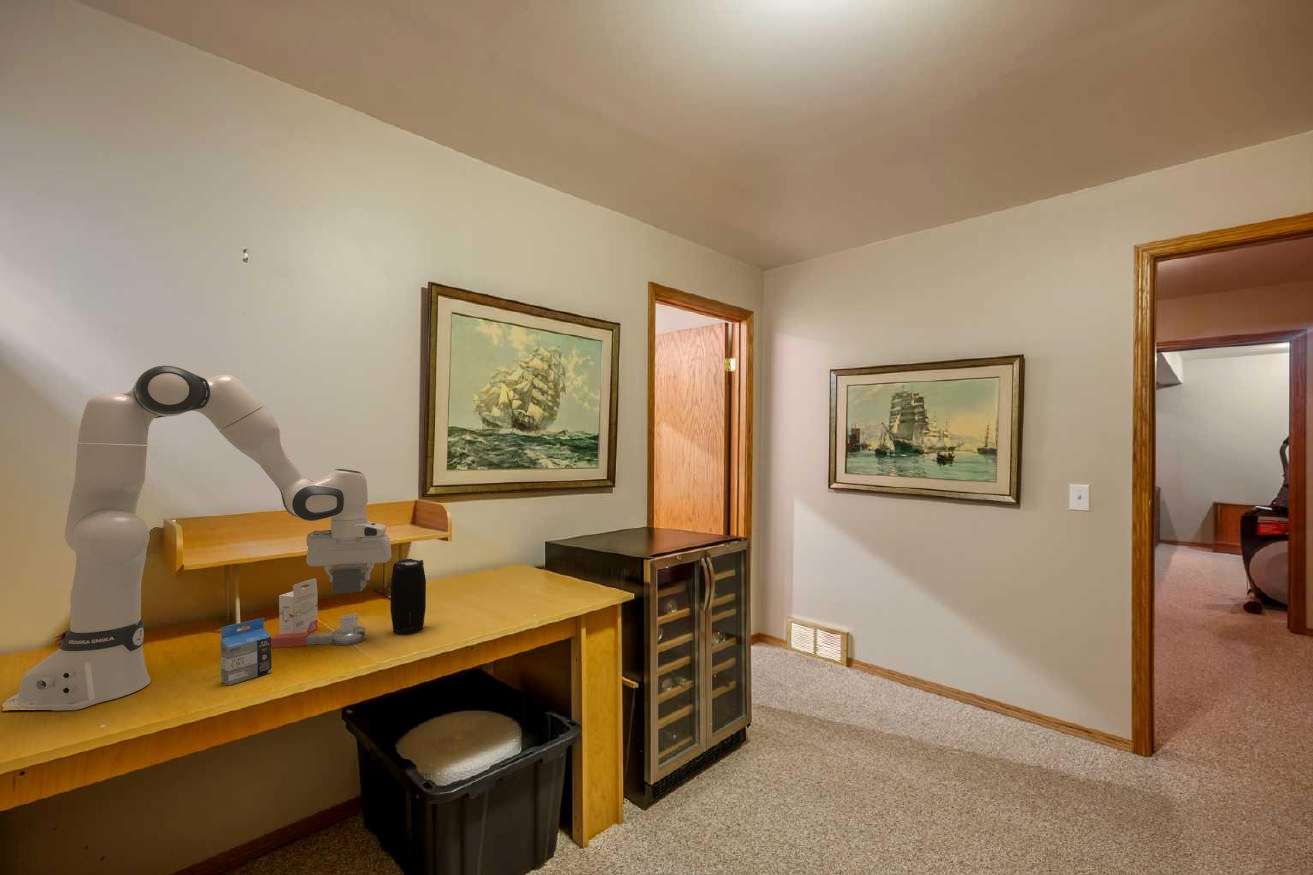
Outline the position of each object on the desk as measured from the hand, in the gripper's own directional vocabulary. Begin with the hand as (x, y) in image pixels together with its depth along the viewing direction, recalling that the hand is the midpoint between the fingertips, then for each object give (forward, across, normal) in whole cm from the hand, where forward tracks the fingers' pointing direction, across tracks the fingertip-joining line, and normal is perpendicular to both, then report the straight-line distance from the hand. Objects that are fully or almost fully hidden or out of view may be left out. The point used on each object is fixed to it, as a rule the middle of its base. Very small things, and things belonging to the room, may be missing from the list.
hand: (350, 580), depth 157 cm
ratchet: (+16, -7, 0) cm, 18 cm away
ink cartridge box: (+16, -15, +9) cm, 24 cm away
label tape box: (+16, -16, -21) cm, 31 cm away
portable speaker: (+16, +14, +5) cm, 22 cm away
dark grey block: (+2, 0, 0) cm, 2 cm away
